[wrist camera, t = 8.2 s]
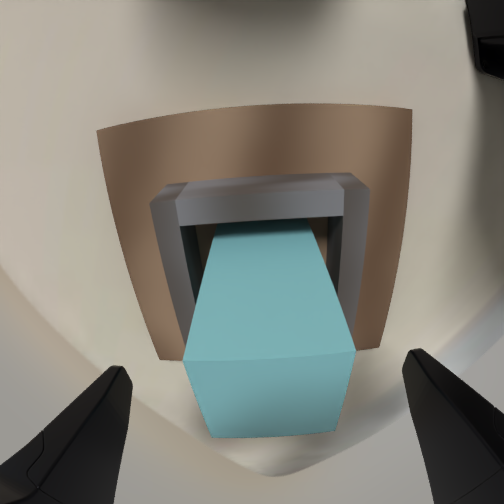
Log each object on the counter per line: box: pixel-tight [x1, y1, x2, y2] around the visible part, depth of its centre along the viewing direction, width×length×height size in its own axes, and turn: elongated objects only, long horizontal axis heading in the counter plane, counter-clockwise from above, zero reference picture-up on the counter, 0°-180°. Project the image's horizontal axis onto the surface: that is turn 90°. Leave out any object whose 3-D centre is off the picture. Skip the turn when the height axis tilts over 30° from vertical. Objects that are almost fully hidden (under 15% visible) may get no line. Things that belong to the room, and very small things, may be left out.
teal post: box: [183, 218, 356, 438], centre depth 11 cm, size 4×4×8 cm
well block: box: [97, 104, 412, 361], centre depth 14 cm, size 14×14×4 cm
